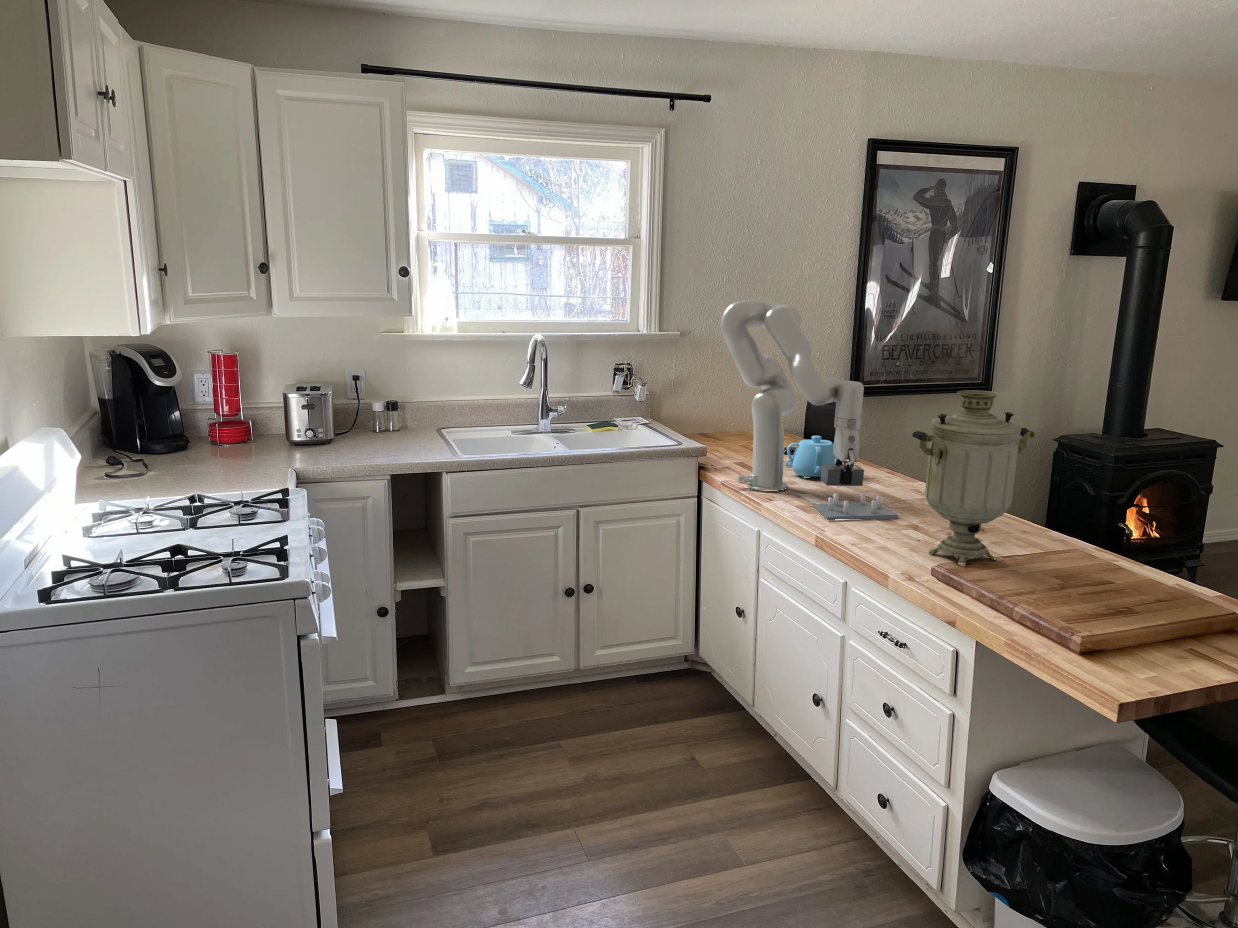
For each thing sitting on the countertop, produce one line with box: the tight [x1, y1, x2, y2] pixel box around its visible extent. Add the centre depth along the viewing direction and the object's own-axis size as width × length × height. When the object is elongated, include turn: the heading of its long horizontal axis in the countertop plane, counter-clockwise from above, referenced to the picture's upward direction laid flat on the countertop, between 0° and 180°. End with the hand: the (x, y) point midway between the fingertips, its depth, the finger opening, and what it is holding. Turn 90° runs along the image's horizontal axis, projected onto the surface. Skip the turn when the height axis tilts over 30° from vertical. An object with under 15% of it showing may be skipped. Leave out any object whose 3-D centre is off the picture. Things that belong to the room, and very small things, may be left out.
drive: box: [820, 464, 865, 487], centre depth 276 cm, size 11×6×5 cm, turn 96°
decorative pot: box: [784, 435, 835, 478], centre depth 306 cm, size 16×16×14 cm
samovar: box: [911, 389, 1036, 564], centre depth 219 cm, size 30×26×40 cm
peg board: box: [812, 492, 899, 521], centre depth 260 cm, size 20×14×5 cm
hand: (842, 480), depth 276 cm, fingers closed on drive, 6 cm apart
